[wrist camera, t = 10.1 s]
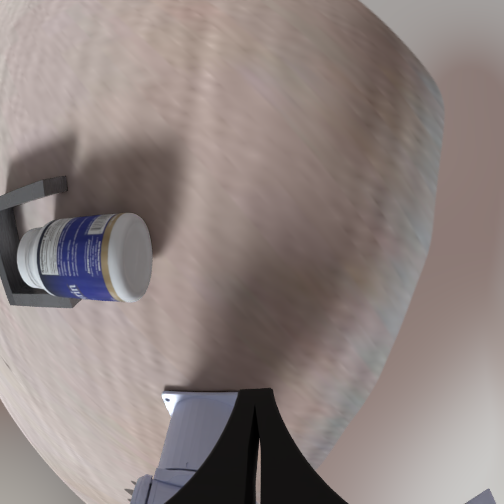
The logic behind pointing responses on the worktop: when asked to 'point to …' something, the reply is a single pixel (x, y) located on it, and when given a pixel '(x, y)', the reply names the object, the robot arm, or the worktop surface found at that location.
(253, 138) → the worktop surface
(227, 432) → the robot arm
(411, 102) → the worktop surface
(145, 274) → the pill bottle
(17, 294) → the metal u-channel bracket
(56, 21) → the worktop surface
